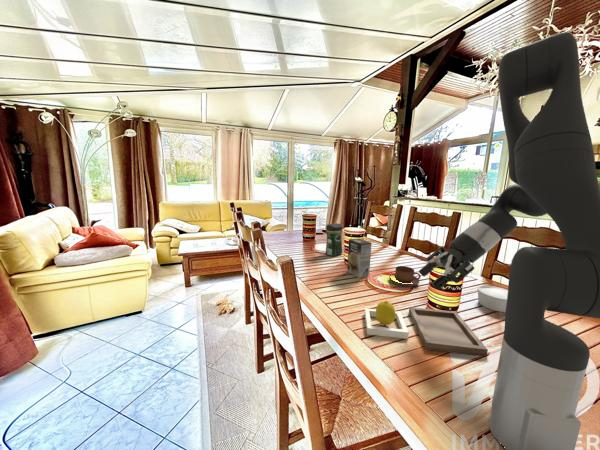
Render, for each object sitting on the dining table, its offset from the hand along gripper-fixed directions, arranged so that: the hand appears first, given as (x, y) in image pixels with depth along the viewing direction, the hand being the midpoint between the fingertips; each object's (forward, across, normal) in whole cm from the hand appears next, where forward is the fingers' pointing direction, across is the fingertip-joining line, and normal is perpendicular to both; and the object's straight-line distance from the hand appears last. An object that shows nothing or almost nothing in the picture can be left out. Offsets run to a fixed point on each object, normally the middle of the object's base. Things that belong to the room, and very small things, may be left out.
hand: (427, 280), depth 69 cm
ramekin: (-11, -15, +33) cm, 38 cm away
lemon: (+19, 0, +3) cm, 19 cm away
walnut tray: (+7, +2, +14) cm, 16 cm away
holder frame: (+18, 0, +3) cm, 19 cm away
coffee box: (+20, -42, +3) cm, 46 cm away
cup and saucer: (+7, -33, +16) cm, 37 cm away
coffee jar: (+27, -72, -4) cm, 77 cm away
